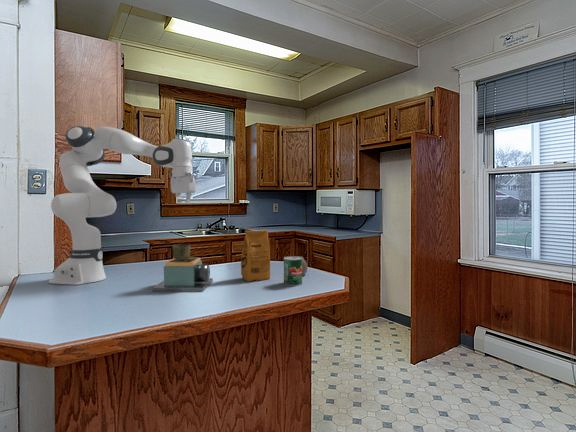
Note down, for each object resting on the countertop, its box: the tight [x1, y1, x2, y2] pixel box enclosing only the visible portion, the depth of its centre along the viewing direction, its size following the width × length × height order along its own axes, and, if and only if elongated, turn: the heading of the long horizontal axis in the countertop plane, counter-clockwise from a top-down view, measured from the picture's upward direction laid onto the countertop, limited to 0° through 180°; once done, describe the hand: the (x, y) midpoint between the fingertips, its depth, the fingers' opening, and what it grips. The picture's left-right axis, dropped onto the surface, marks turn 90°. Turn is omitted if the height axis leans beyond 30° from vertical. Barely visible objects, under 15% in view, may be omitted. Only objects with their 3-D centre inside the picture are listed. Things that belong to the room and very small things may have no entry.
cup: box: [171, 243, 192, 262], centre depth 147 cm, size 8×7×8 cm
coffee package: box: [240, 229, 271, 282], centre depth 160 cm, size 10×12×22 cm
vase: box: [297, 255, 308, 277], centre depth 167 cm, size 7×7×9 cm
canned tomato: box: [283, 255, 303, 287], centre depth 151 cm, size 8×8×11 cm
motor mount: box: [151, 257, 214, 293], centre depth 148 cm, size 20×16×11 cm
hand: (183, 202), depth 169 cm, fingers open, 8 cm apart
